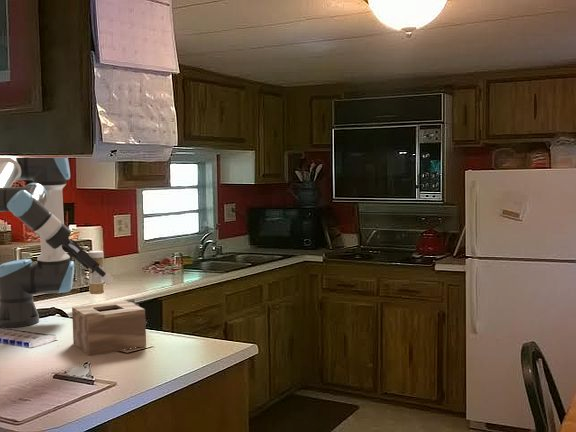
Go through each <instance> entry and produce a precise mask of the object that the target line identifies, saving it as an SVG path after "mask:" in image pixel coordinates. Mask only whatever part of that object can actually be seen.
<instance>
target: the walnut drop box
mask: <svg viewBox="0 0 576 432" xmlns="http://www.w3.org/2000/svg"><path fill="white" fill-rule="evenodd" d="M71 317H72V340H73V342H72V343H73V344H74V345H75V346H76V347H78V348H79V349H80V350H81V351H83V352H84V353H85V354H86V355H87V356H91V357H92V356H97V355H103V354H109V353H115V352H120V351H119V350H123V351H125V350H124V349H129V350H131V349H130V348H135V347H141V348H145V347H144V346H146V347H147V332H146V329H147V327H146V323H147V322H146V309H145V308H143V307H141V306H140V305H139V306H137V305H134V304H132V303H130V302H128V301H124V300H120V301H112V302H104V303H103V302H102V303H95V304H94V303H93V304H88V305H85V304H84V305H80V306H79V305H78V306H71ZM135 349H136V348H135Z"/></svg>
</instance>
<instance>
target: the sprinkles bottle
mask: <svg viewBox="0 0 576 432" xmlns="http://www.w3.org/2000/svg"><path fill="white" fill-rule="evenodd" d="M87 254H88V255H89V256H90V257H91V258H92V259H94V260H95V261H96V262H97V263H99V265H100V266H101V267H102V268H103V269H104V251H103V250H89V251H88V252H87ZM88 269H89V270H88V275H89V278H88V282H89V283H88V284H89V294H90V295H101V294H104V293H105V290H104V289H105V288H104V283H105V282H104V281H103V280H102V279H101V278H99V277H98V276H97V275H96V274H95V273H94V272H93V273H91V271H92V270H91V269H90V268H88Z"/></svg>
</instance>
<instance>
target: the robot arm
mask: <svg viewBox="0 0 576 432" xmlns="http://www.w3.org/2000/svg"><path fill="white" fill-rule="evenodd" d="M70 179H71V169H70V162H69V157H67V158H0V213H2V212H11V213H12V216H14V217H16V218H17V219H19V221H21V222H22V223H23V224H24V225H25V226H27V227H28V228H29V229H30V230H31V231H32V232H34V233H35V237H36V238H38V237H39V238H40V239H39V241H40V254H39V256H38V257H37V258H36V262H33V261H32V259H31V258H24V259H16V260H12V261H7V262H3V263H2V264H0V328H20V327H27V326H31V325H35V324H37V323H39V322H40V315H39V313H38V310H37V307H36V305H35V303H34V295H45V294H47V295H48V294H60V293H69V292H71V291H72V288H73V282H74V276H75V261H74V260H71V257H73V258H74V259H75V260H76V261H77V262H78V263H80V264H81V265H82V267H84V268H86V269H87V270H88V271H89V268H90V269H91V270H92V271H91V273H93V272H94V273H95V274H96V275H97V276H98V277H99V278H101V279H102V280H103V281H104V283H105V284H106V285H107V286H109V285H110V284H111V283H112V282H113V281H114V279H115V278H114V277H113V276H112V275H111V274H110V273H108V272H107V271H106V270H105V269H104V267H103V268H102V267H101V266H100V265H99V263H97V262H96V261H95V260H94V259H92V258H91V257H90V256H89V255H88V252H86V251H85V250H84V249H83V248H82V246H80V245H79V244H78V243H77V242H76V241H75V240H73V239H69V237H70V236H71V234H72V230H71V229H70V228H69V227H67V226H66V225H65V220H64V219H65V218H64V216H65V215H64V202H63V201H64V199H63V198H64V197H63V189H64V188H65V186H66V185H67V181H68V180H70ZM17 181H32V182H31V183H28V184H26V185H24V186H13V185H14V183H16V182H17Z"/></svg>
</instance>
